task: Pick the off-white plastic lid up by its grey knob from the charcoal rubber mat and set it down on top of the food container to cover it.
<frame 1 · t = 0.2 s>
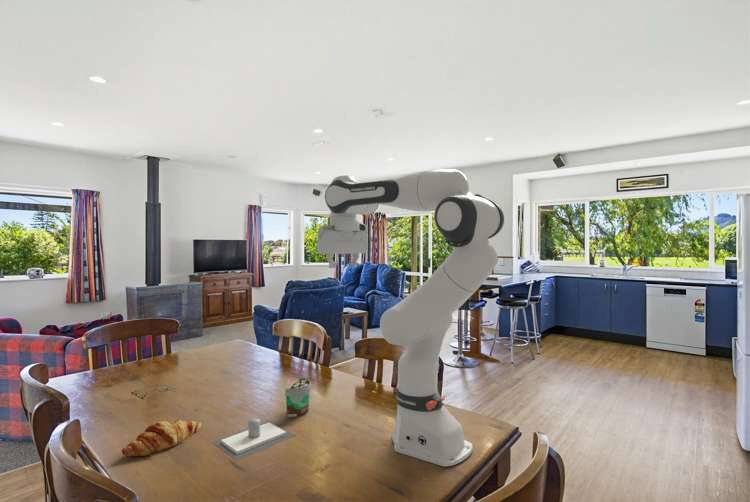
hand: (343, 267, 133), 48 cm above the table, fingers open, 8 cm apart
lid: (254, 438, 113), point 1 cm above the table, touching mat
croissant: (165, 446, 111), on the table
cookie: (154, 392, 151), on the table
food container: (301, 414, 131), on the table
mat: (254, 440, 113), on the table
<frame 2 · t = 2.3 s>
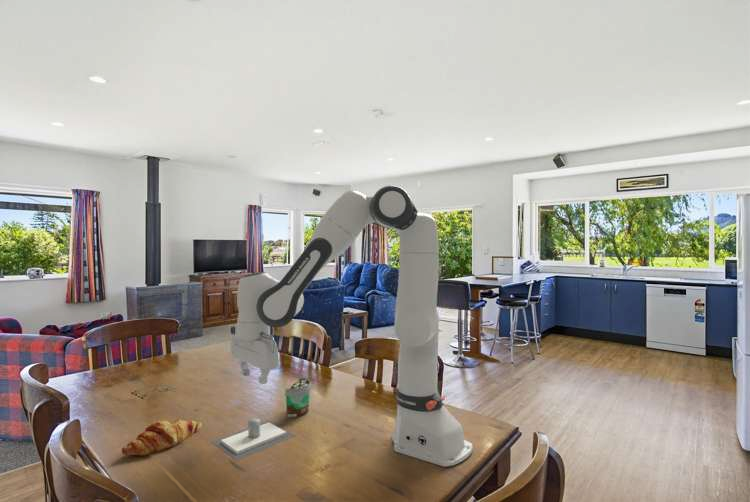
hand: (253, 379, 112), 17 cm above the table, fingers open, 8 cm apart
nothing on the table moved.
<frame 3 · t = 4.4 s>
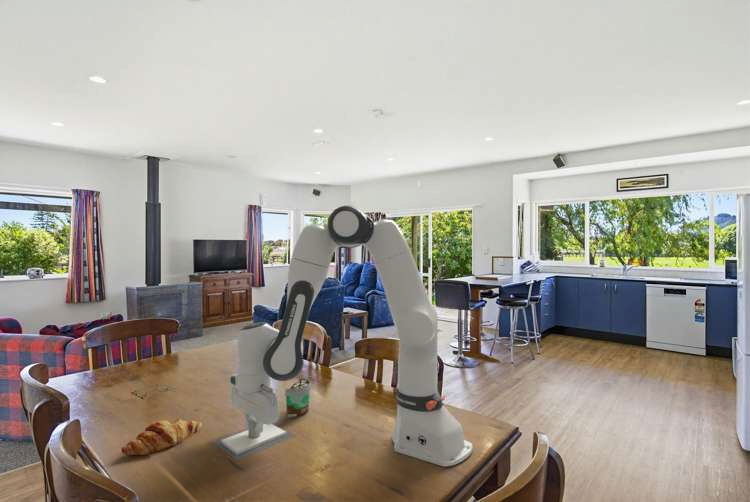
hand: (254, 429, 113), 3 cm above the table, fingers closed on lid, 3 cm apart
lid: (254, 438, 113), point 1 cm above the table, touching gripper, mat
everything else where it was.
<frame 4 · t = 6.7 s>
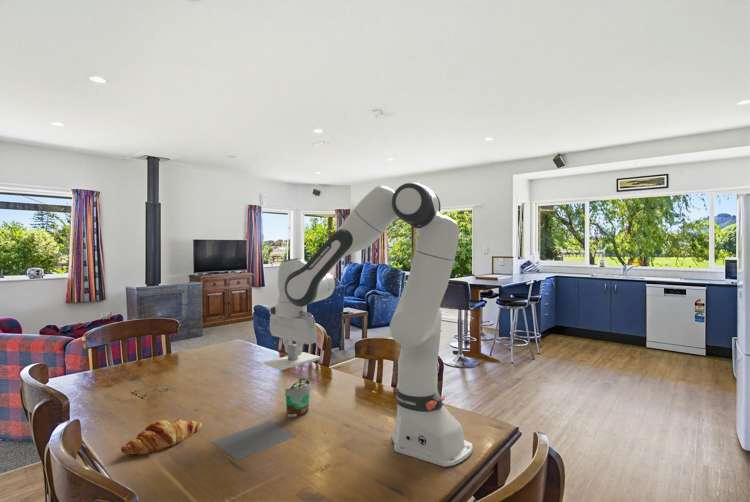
hand: (293, 353, 126), 21 cm above the table, fingers closed on lid, 3 cm apart
lid: (293, 361, 126), point 18 cm above the table, touching gripper
everything else where it was.
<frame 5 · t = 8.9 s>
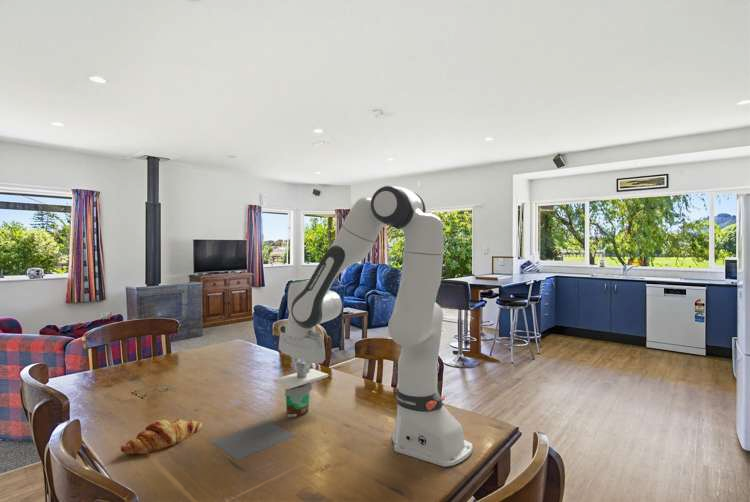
hand: (301, 371, 130), 14 cm above the table, fingers closed on lid, 3 cm apart
lid: (301, 379, 130), point 11 cm above the table, touching gripper
everything else where it was.
when the fingers open (14 cm above the table, at t = 9.0 s): lid drops 1 cm, resting on food container.
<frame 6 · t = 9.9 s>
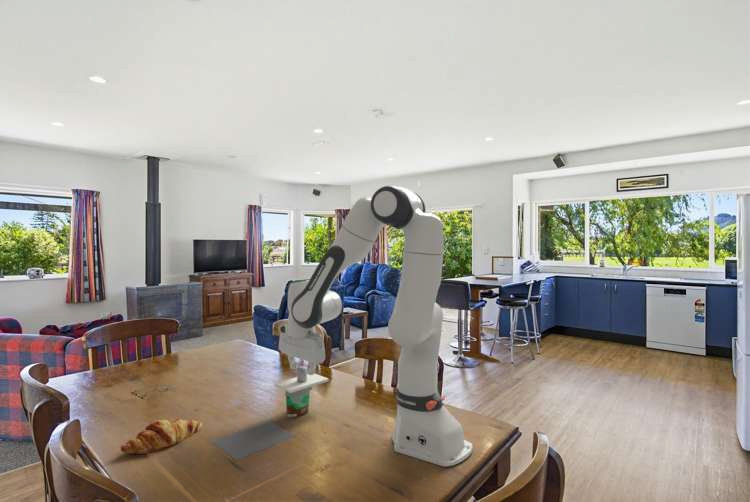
hand: (301, 371, 130), 14 cm above the table, fingers open, 8 cm apart
lid: (302, 383, 130), point 10 cm above the table, touching food container
food container: (301, 414, 131), on the table, touching lid
everything else where it was.
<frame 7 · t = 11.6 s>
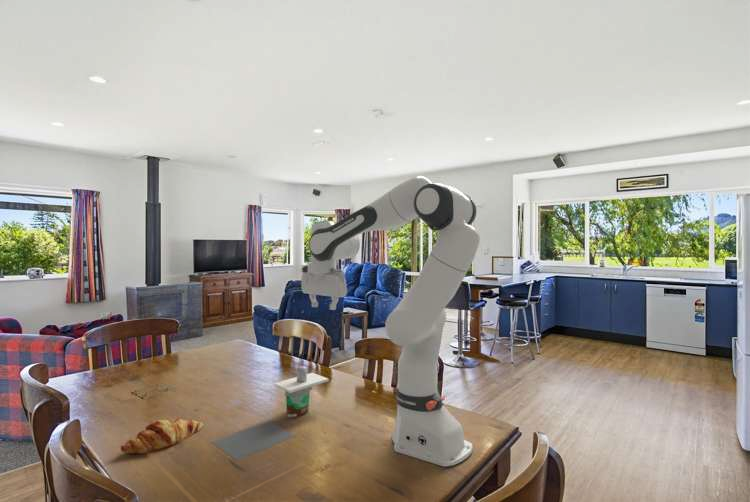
hand: (323, 308, 138), 33 cm above the table, fingers open, 8 cm apart
nothing on the table moved.
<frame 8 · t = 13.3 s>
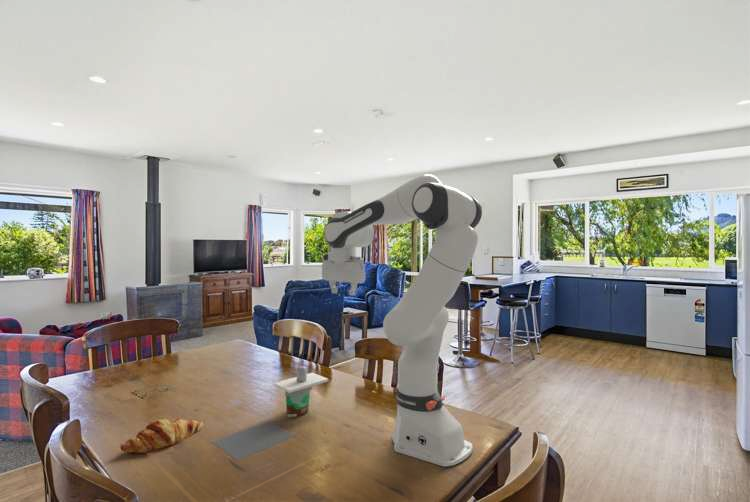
hand: (343, 294, 146), 37 cm above the table, fingers open, 8 cm apart
at the end: lid 0.1 cm from the food container (horizontally); lid point 10.0 cm above the table; lid tilted 0° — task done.
